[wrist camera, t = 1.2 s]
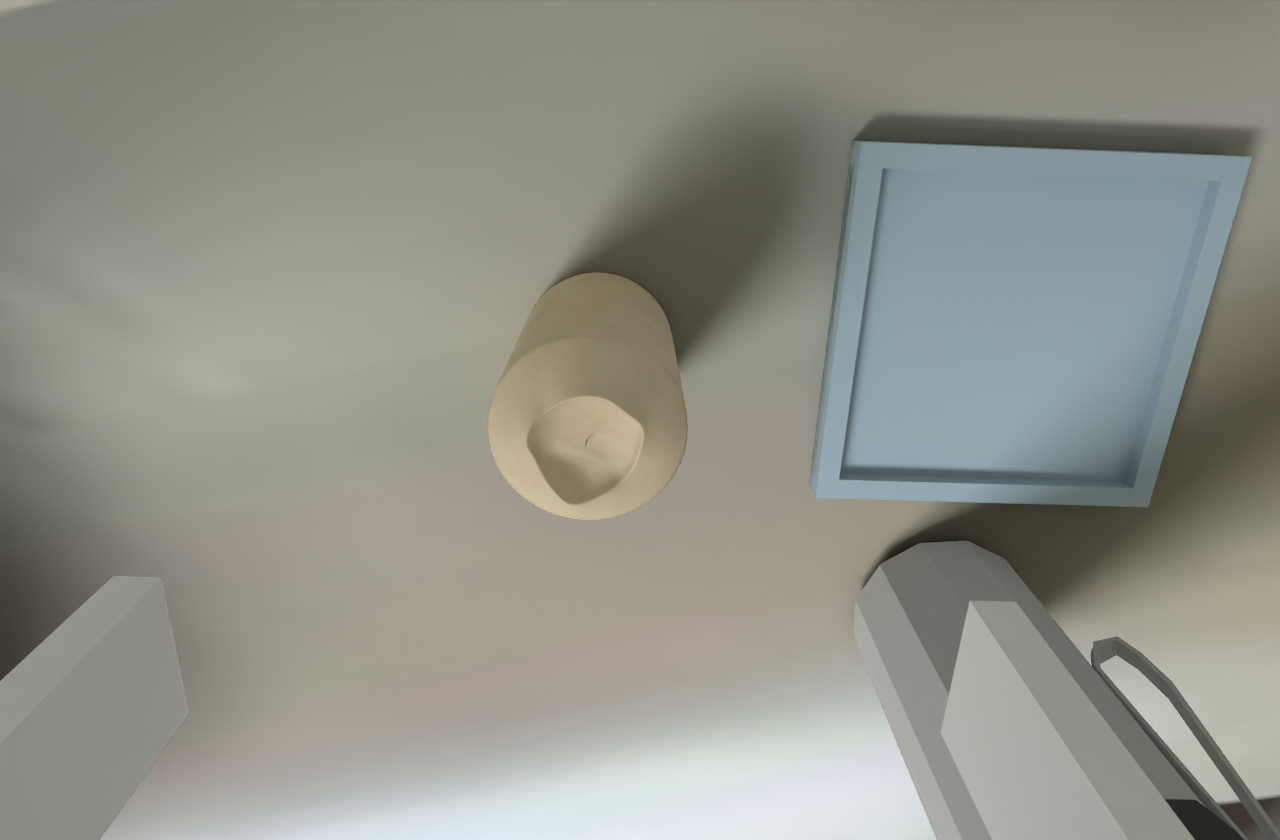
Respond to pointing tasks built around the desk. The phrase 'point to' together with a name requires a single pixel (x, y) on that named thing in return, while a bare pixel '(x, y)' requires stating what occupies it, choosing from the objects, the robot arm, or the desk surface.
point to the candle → (590, 401)
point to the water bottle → (924, 666)
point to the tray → (1016, 320)
